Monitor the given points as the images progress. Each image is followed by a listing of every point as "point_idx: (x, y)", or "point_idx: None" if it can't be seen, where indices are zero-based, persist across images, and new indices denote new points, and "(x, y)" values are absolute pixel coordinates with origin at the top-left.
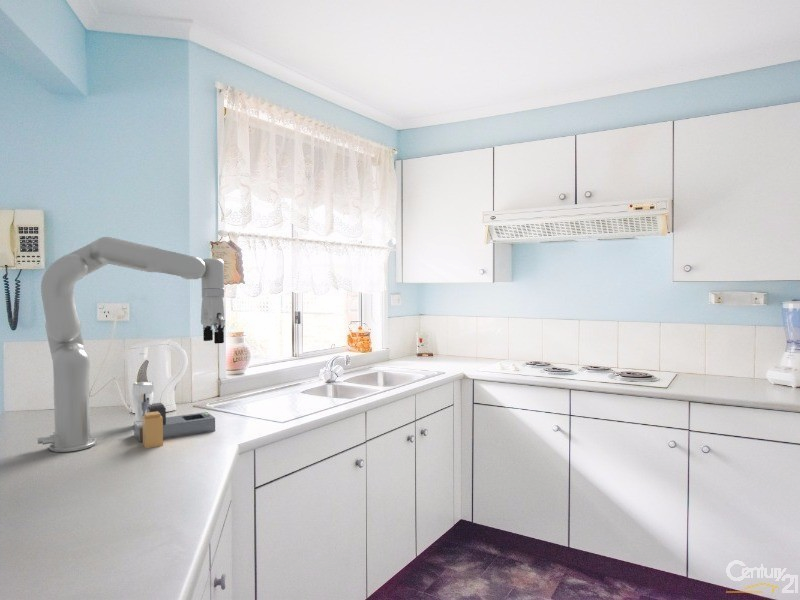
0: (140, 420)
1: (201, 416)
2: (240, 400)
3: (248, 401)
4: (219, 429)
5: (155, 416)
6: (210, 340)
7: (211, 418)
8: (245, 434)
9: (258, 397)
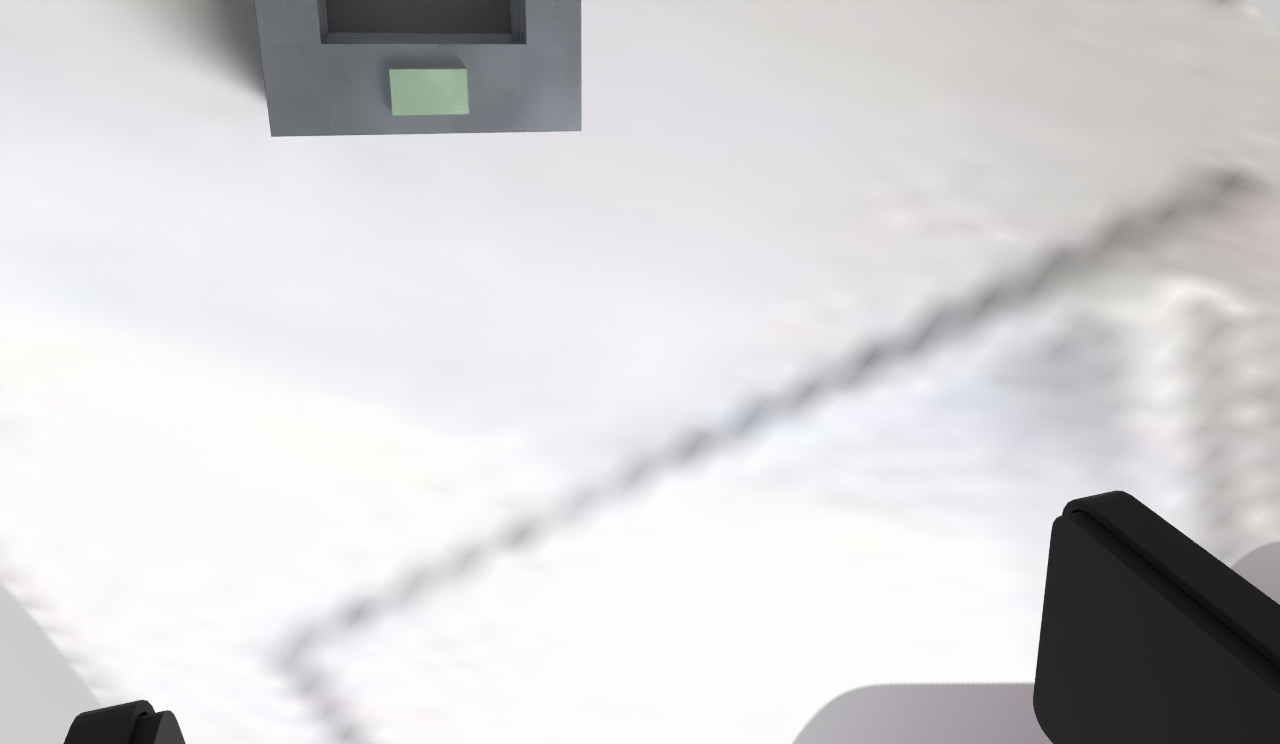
0: None
1: (480, 43)
2: None
3: None
4: (317, 161)
5: None
6: (1045, 662)
7: (266, 96)
8: (15, 317)
9: None
